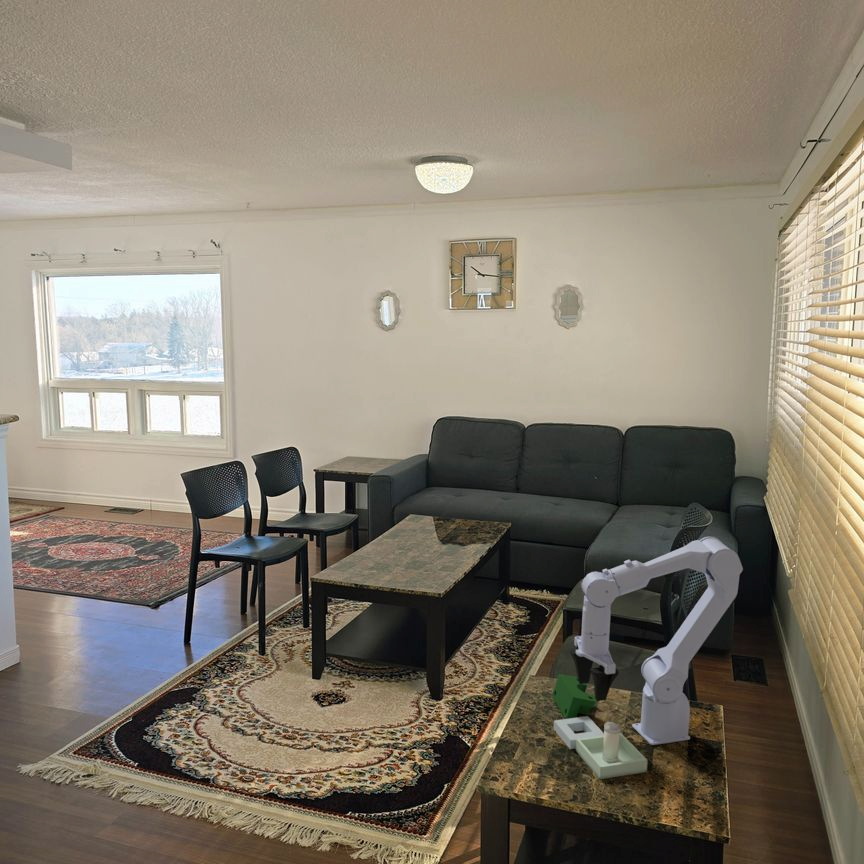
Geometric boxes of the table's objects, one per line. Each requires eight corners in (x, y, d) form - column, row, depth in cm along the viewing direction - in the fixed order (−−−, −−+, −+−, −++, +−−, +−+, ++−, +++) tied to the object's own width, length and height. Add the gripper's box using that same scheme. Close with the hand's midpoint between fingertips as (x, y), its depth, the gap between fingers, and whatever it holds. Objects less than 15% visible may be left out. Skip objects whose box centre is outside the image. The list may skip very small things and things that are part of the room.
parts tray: (620, 744, 161) (620, 732, 161) (646, 771, 152) (647, 760, 151) (575, 750, 158) (576, 739, 158) (599, 779, 149) (600, 767, 148)
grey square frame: (587, 724, 169) (587, 716, 168) (605, 744, 161) (605, 735, 161) (553, 729, 166) (553, 720, 166) (570, 749, 159) (570, 740, 159)
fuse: (613, 753, 157) (615, 721, 156) (621, 762, 154) (623, 729, 153) (599, 755, 156) (601, 723, 155) (607, 764, 153) (609, 731, 152)
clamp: (583, 735, 173) (600, 708, 168) (558, 730, 172) (574, 703, 167) (574, 691, 183) (589, 666, 179) (551, 686, 182) (565, 660, 178)
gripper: (562, 618, 168) (559, 677, 170) (594, 646, 154) (591, 710, 156) (592, 615, 170) (589, 674, 172) (626, 642, 156) (622, 706, 158)
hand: (592, 691), depth 164 cm, fingers open, 7 cm apart
